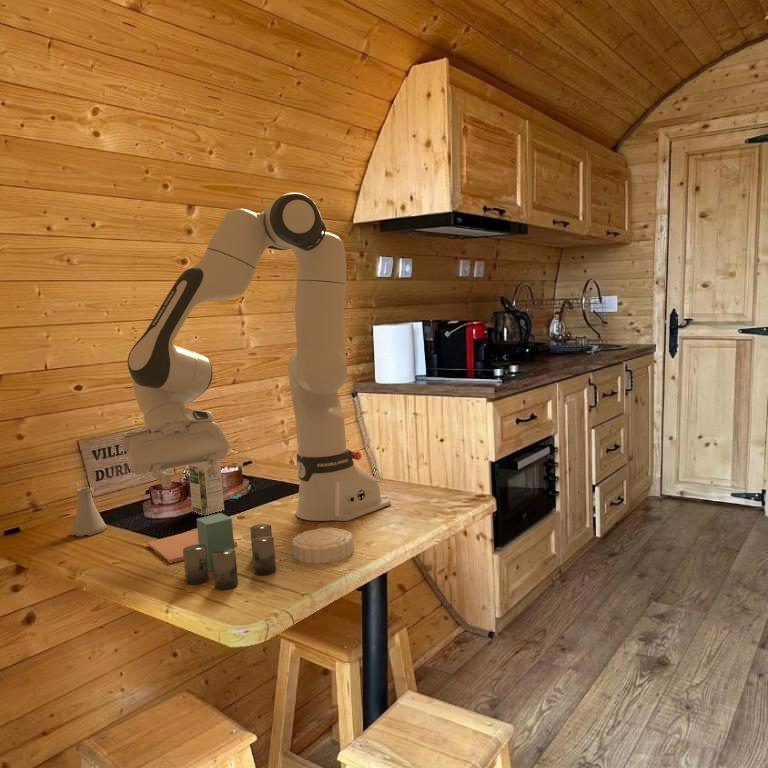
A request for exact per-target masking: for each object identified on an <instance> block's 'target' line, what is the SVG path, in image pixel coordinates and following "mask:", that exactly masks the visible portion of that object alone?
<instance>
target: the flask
mask: <svg viewBox="0 0 768 768" xmlns="http://www.w3.org/2000/svg"><path fill="white" fill-rule="evenodd" d="M92 491H93V487H82V488H78V489H77V490H76V491H75V493H76V494H77V496H78V505H77V509H76V515H75V519H74V523H73V526H72V528H71V529H72V530H71V533H70V535H71V536H74V535H76V536H75V537H85V536H84V535H88V536H94V535H97V534H99V533H102V532H104V531H105V530H106V529H107V527H108V526H107V525H106V523H105V521H104V519H103V518H102V516H101V514H100V513H99V510H98V508H97V507H96V505H95V502H94V498H93V495H92ZM105 528H106V529H105ZM96 533H97V534H96ZM93 534H94V535H93Z"/></svg>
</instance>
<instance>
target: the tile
mask: <svg viewBox="0 0 768 768" xmlns="http://www.w3.org/2000/svg"><path fill="white" fill-rule="evenodd" d="M197 544H199V540H198V530H197V529H196V530H191V531H186V532H183V533H179V534H174V535H170V536H167V537H162V538H159V539H155V540H150V541H147V542H146V545H149V546H150V547H151V548H152V549H154V550H155V551H156V552H157V553H158V554H160V555H161V556H162V557H163V558H164V559H166V560H167V561H168V562H169V563H171V564H174V563H173V562H175V563H178V562H177V561H179V562H182V561H184V556H183V549H184V548H185V547H187V546H191V545H197ZM237 546H238V542H237V541H236V540H234V547H237ZM151 548H150V549H151ZM152 549H151V550H152ZM156 552H155V553H156ZM157 553H156V554H157ZM158 554H157V555H158ZM161 556H160V557H161ZM162 557H161V558H162ZM163 558H162V559H163ZM164 559H163V560H164ZM166 560H165V561H166ZM181 560H182V561H181ZM167 561H166V562H167ZM168 562H167V563H168ZM169 563H168V564H169Z"/></svg>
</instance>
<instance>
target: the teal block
mask: <svg viewBox="0 0 768 768" xmlns="http://www.w3.org/2000/svg"><path fill="white" fill-rule="evenodd" d="M196 527H197V529H196V530H198V540H199V544H202V545H205V546H206V553H207V563H208V572H213V562H212V553H213V552H214V551H216V550H220V549H227V548H229V549H234V550H235V546H234V529H233V518H232V517H230V516H228V515H226V514H224V513H223V512H218V513H214V514H211V515H208V516H203V517H202V516H201V517H198V518H196Z"/></svg>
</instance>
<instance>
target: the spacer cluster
mask: <svg viewBox="0 0 768 768" xmlns="http://www.w3.org/2000/svg"><path fill="white" fill-rule="evenodd" d="M249 529H250V530H249V531H250V541H251V551H252V552H251V554H252V563H253V564H252V565H253V573H254V575H256V576H259V577H262V576H270V575H272V574H274V573H276V572H277V565H276V564H277V562H276V551H275V538H274V537H273V532H272V525H271V524H269V523H260V524H254V525H252V526H250V528H249ZM183 556H184V560H183V563H184V565H183V566H184V575H185V583H186V585H191V586H196V585H201V584H204V583H207V582H208V581H209V579H210V576H209V570H208V563H207V553H206V546H205V545H202V544H197V545H191V546H187V547H185V548H184V549H183ZM236 557H237V556H236V550H235V548H234V549H229V548H227V549H220V550H216V551H214V552H213V553H212V562H213V571H212V572H213V580H214V581H213V583H214V588H215V589H216V590H217V591H227V590H232V589H234V588H236V587H237V586H238V585H239V578H238V569H237V558H236Z"/></svg>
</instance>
